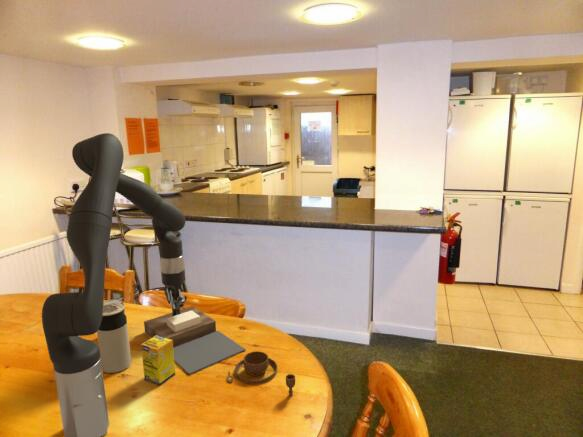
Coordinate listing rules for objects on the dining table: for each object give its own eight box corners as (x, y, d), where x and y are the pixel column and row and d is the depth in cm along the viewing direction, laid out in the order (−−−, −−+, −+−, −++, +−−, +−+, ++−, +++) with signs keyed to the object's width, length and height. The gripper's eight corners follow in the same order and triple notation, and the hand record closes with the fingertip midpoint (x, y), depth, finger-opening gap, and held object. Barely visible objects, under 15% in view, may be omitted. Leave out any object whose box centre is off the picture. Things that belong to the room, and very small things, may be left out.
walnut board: (216, 331, 139) (215, 320, 138) (165, 351, 127) (164, 339, 126) (193, 316, 150) (192, 305, 150) (144, 332, 139) (143, 321, 138)
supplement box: (144, 380, 113) (140, 344, 110) (160, 369, 118) (157, 334, 115) (160, 386, 110) (156, 349, 107) (175, 374, 115) (172, 339, 113)
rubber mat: (245, 350, 127) (245, 349, 127) (189, 375, 115) (189, 373, 115) (218, 331, 139) (218, 330, 138) (164, 352, 126) (164, 350, 126)
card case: (200, 323, 136) (200, 316, 136) (175, 332, 131) (174, 324, 130) (192, 317, 141) (191, 310, 140) (167, 325, 135) (166, 318, 134)
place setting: (283, 357, 124) (282, 339, 123) (299, 399, 105) (299, 379, 104) (224, 365, 120) (223, 347, 119) (230, 410, 101) (229, 389, 100)
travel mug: (108, 377, 114) (101, 317, 110) (97, 366, 120) (89, 309, 116) (136, 365, 120) (130, 308, 116) (124, 355, 125) (117, 300, 121)
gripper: (153, 266, 137) (157, 314, 141) (171, 276, 128) (175, 328, 131) (174, 261, 142) (178, 308, 146) (192, 271, 132) (196, 320, 136)
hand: (176, 317), depth 139 cm, fingers closed
